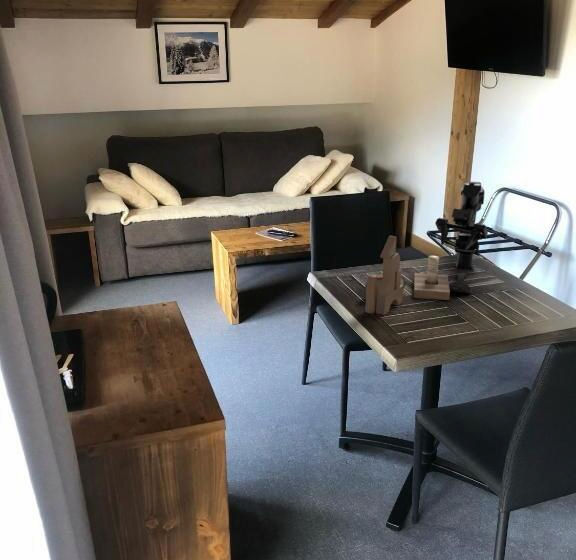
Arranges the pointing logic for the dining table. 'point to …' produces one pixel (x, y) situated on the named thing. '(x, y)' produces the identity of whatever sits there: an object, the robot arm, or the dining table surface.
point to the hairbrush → (460, 284)
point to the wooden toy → (385, 282)
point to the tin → (379, 278)
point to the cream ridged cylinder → (432, 270)
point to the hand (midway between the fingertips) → (453, 246)
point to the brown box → (431, 287)
